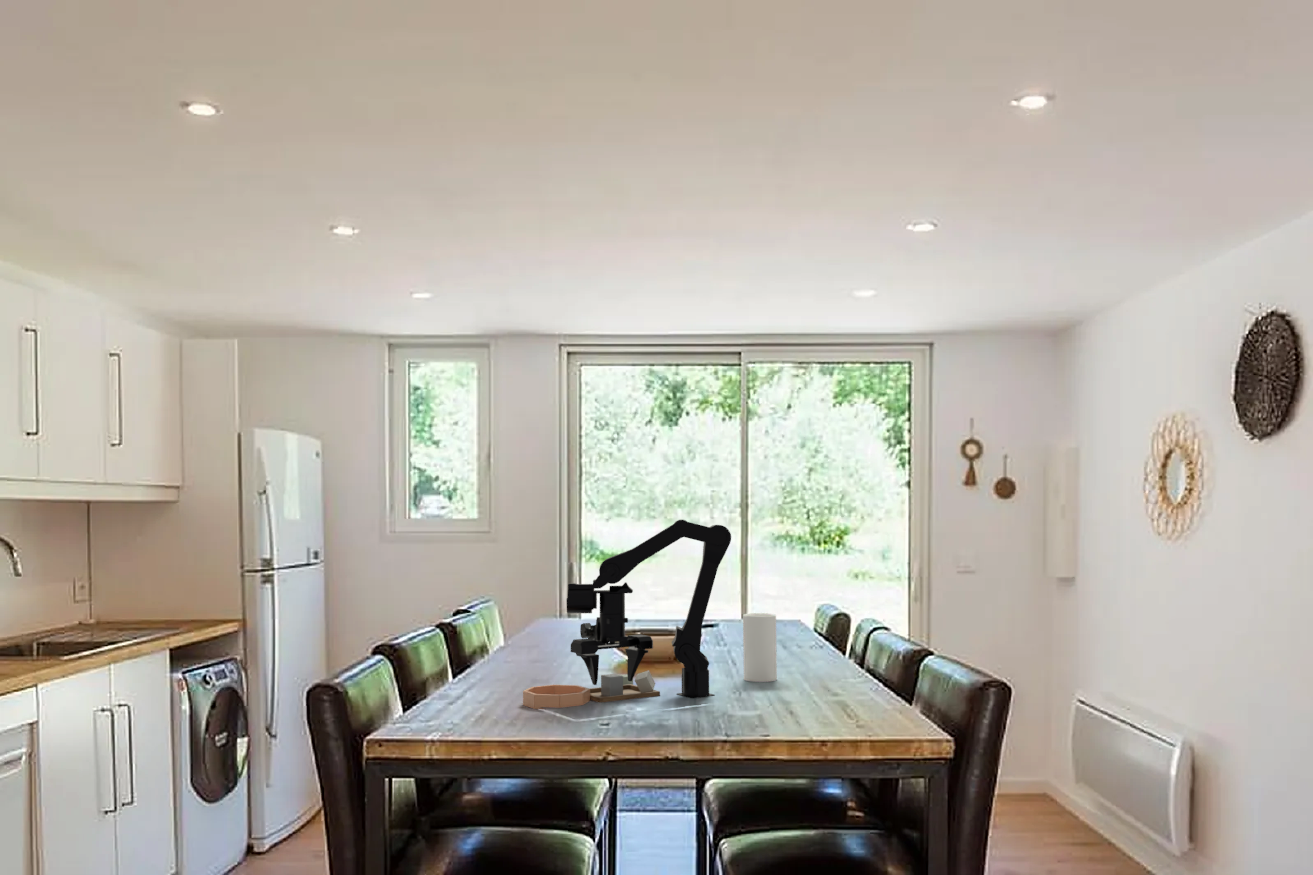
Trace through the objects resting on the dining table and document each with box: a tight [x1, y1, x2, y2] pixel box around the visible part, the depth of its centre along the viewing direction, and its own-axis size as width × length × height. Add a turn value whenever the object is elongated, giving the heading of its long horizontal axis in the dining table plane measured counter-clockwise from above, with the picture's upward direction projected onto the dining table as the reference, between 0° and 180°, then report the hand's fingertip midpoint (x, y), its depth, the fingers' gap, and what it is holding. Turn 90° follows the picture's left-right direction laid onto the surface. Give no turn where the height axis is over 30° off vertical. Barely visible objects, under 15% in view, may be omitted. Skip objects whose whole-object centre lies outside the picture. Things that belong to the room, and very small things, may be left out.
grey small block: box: [634, 669, 656, 693], centre depth 243 cm, size 4×3×3 cm
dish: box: [522, 684, 591, 710], centre depth 234 cm, size 14×14×3 cm
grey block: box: [600, 673, 623, 697], centre depth 241 cm, size 4×3×4 cm
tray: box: [589, 684, 661, 703], centre depth 242 cm, size 13×16×1 cm
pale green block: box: [620, 673, 634, 685], centre depth 256 cm, size 3×4×3 cm
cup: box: [742, 612, 778, 683], centre depth 267 cm, size 8×8×16 cm
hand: (612, 682), depth 241 cm, fingers open, 9 cm apart
